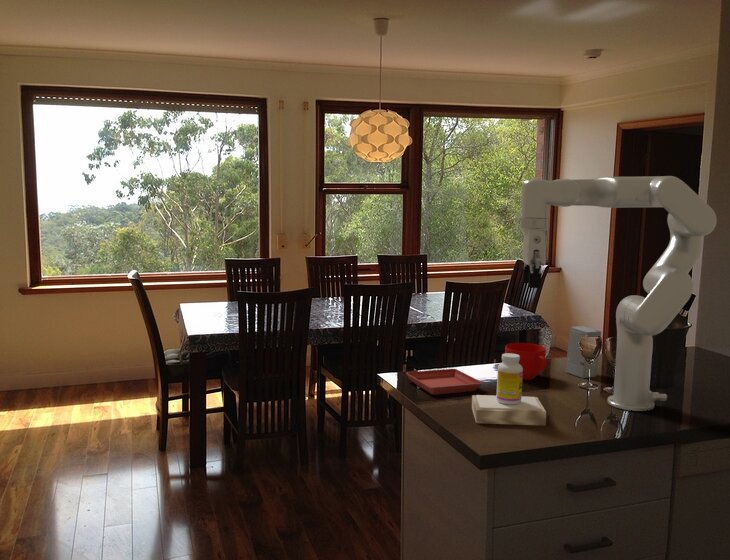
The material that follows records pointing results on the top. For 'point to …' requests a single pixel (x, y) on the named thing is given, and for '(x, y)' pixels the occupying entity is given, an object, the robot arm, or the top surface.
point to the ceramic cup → (529, 358)
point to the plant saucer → (444, 381)
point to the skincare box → (574, 358)
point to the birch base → (508, 411)
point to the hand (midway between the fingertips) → (531, 285)
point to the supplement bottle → (509, 380)
